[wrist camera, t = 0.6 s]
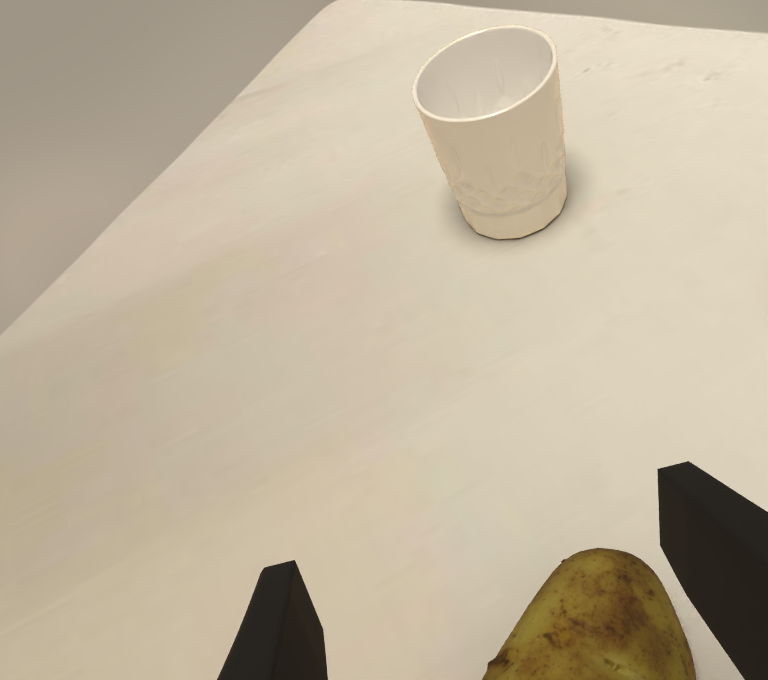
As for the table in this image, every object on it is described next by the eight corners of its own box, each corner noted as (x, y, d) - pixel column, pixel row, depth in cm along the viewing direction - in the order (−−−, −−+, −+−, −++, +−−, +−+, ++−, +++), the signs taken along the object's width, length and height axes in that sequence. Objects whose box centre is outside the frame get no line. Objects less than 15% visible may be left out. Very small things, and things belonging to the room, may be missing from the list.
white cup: (451, 177, 46) (409, 52, 38) (565, 146, 44) (544, 7, 36) (460, 260, 41) (414, 138, 34) (587, 230, 39) (569, 92, 32)
